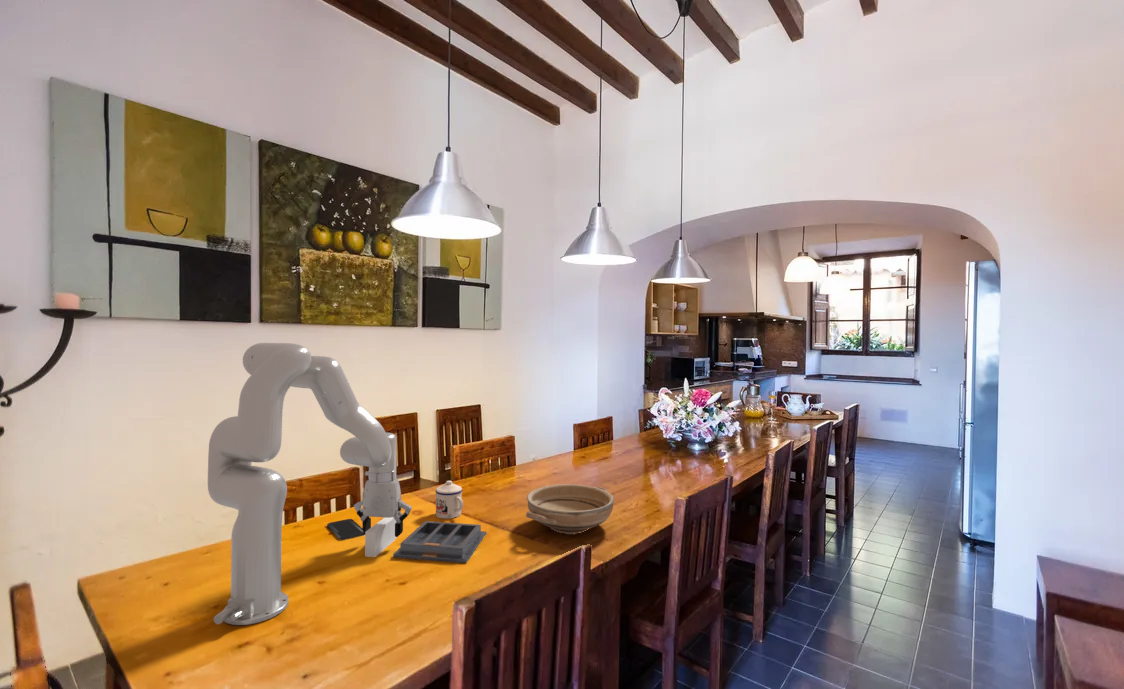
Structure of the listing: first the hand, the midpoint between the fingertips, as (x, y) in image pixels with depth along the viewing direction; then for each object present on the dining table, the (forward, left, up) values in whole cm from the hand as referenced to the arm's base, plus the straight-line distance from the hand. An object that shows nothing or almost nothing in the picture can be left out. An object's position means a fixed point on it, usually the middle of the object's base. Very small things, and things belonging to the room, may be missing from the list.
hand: (382, 534), depth 146 cm
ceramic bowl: (+25, -52, -4) cm, 58 cm away
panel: (0, 0, -4) cm, 4 cm away
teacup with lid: (+28, -11, -4) cm, 30 cm away
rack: (+4, -17, -4) cm, 18 cm away
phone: (+10, +17, -4) cm, 20 cm away
